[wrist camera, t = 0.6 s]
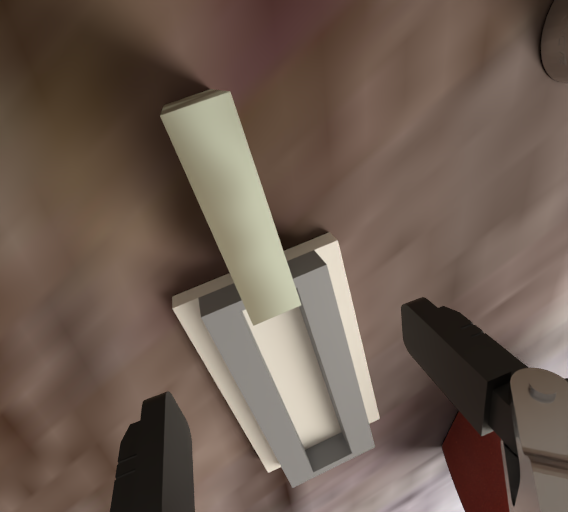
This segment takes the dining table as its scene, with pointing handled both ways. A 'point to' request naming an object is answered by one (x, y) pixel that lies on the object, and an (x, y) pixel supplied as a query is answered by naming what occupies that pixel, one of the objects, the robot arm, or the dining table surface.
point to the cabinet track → (290, 364)
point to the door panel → (232, 199)
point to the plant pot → (476, 467)
